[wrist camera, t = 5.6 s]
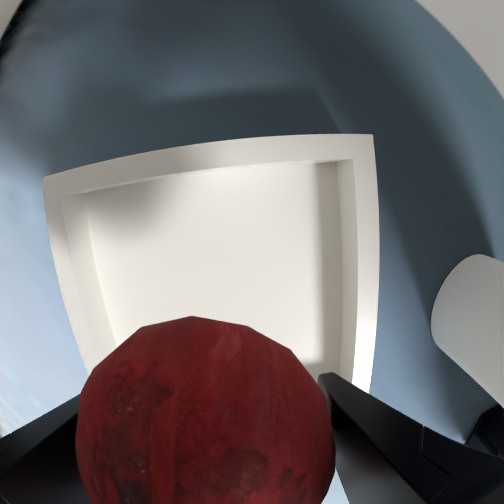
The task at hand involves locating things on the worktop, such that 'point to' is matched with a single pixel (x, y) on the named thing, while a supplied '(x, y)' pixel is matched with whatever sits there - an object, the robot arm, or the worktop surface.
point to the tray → (226, 245)
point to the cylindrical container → (473, 321)
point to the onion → (203, 420)
